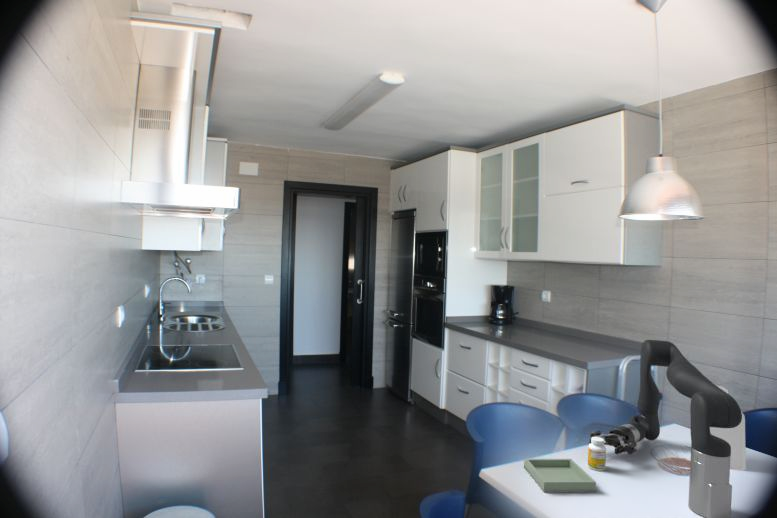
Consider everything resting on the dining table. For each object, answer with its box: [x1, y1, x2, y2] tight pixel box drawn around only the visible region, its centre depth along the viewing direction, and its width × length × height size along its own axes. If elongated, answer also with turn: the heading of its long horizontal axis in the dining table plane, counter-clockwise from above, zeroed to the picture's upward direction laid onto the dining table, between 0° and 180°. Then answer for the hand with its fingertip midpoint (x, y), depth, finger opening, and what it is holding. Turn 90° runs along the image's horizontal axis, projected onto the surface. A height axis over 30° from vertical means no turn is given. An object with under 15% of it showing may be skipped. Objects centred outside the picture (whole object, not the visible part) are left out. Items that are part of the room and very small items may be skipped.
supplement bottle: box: [587, 437, 607, 472], centre depth 159 cm, size 5×5×10 cm
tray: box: [523, 458, 597, 493], centre depth 150 cm, size 16×16×3 cm
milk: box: [710, 385, 747, 472], centre depth 168 cm, size 12×12×26 cm
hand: (603, 446), depth 162 cm, fingers open, 8 cm apart
